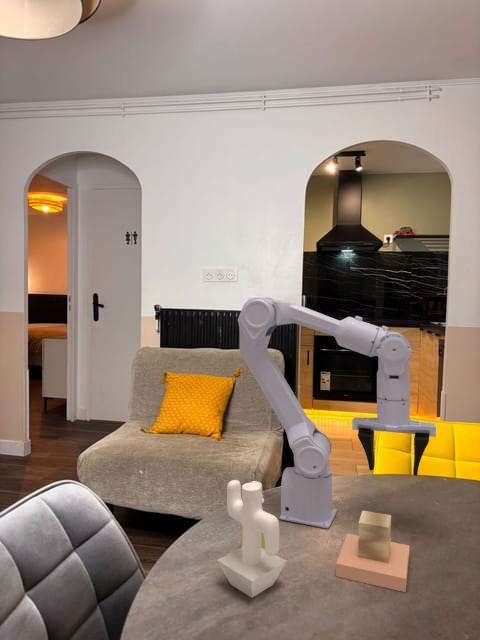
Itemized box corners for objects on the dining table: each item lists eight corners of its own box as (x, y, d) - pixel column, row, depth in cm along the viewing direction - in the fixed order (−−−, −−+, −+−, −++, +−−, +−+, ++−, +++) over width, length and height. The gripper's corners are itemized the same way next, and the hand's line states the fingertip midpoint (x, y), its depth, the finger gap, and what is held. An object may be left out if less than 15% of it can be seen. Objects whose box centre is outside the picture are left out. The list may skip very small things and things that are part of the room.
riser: (335, 576, 72) (336, 563, 72) (347, 544, 81) (347, 533, 81) (405, 592, 68) (405, 578, 68) (409, 557, 77) (409, 545, 77)
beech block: (357, 557, 74) (358, 522, 73) (361, 543, 78) (362, 510, 78) (388, 563, 72) (388, 527, 72) (390, 548, 76) (391, 515, 76)
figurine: (257, 611, 64) (259, 501, 63) (211, 581, 70) (212, 481, 70) (292, 588, 69) (293, 487, 68) (246, 562, 75) (247, 469, 75)
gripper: (349, 399, 86) (349, 473, 87) (435, 405, 80) (435, 484, 81) (355, 392, 93) (355, 461, 93) (435, 397, 87) (435, 470, 87)
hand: (393, 471), depth 87 cm, fingers open, 7 cm apart
